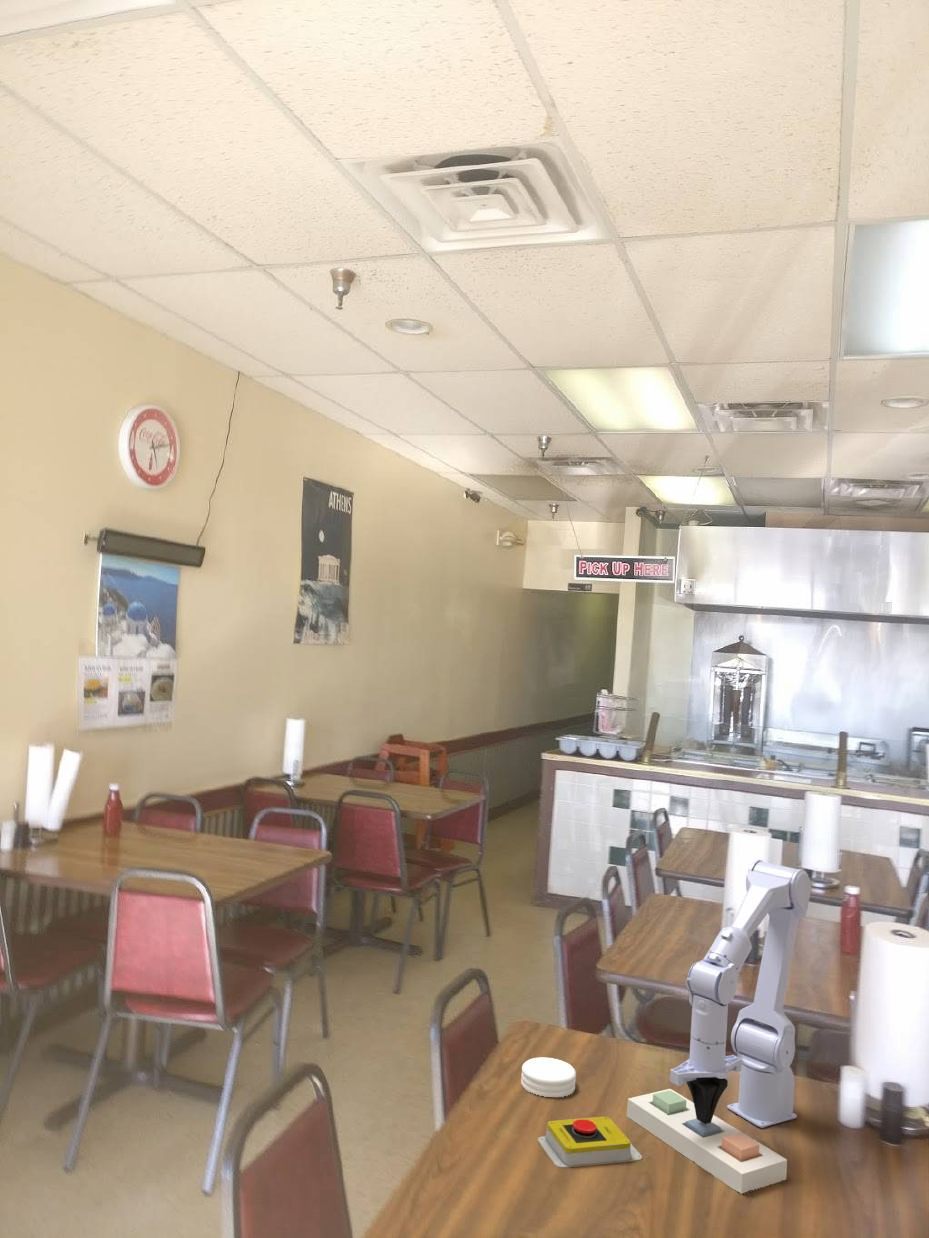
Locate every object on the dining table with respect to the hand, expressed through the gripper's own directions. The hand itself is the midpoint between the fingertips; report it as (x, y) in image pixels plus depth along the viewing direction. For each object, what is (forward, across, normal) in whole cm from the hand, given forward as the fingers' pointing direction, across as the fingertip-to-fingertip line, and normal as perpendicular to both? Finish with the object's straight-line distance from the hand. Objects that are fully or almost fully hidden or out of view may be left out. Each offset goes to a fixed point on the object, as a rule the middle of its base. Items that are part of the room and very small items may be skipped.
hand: (703, 1120), depth 156 cm
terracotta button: (+3, 0, -8) cm, 8 cm away
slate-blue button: (+4, 0, 0) cm, 4 cm away
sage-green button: (+3, 0, +8) cm, 8 cm away
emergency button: (+5, -18, +7) cm, 20 cm away
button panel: (+4, 0, 0) cm, 4 cm away
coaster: (+4, -11, +28) cm, 30 cm away
